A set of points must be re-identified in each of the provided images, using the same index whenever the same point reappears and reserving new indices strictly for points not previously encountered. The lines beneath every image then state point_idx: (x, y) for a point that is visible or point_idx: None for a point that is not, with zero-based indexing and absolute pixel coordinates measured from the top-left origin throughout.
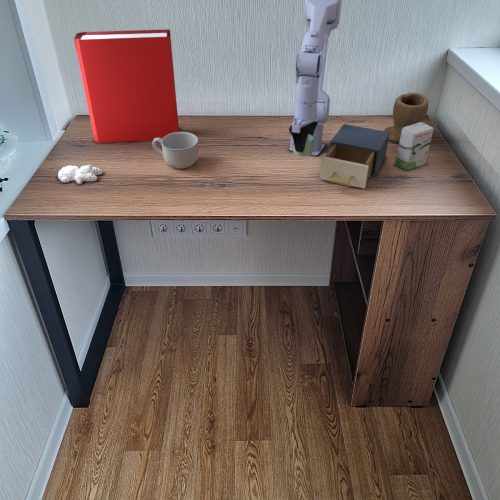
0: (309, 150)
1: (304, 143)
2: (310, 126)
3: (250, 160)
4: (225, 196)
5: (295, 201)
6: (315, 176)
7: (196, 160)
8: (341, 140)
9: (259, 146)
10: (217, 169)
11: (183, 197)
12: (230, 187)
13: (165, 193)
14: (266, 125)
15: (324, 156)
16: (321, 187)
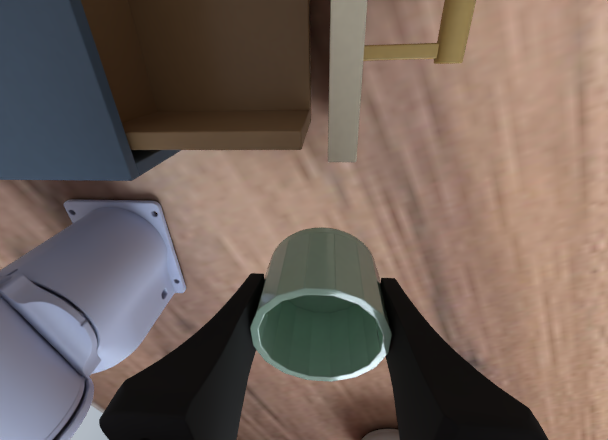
0: (357, 254)
1: (428, 324)
2: (227, 380)
3: None
4: (532, 346)
5: (546, 161)
6: (313, 155)
7: (388, 437)
8: (71, 114)
9: None
10: (387, 390)
11: (549, 407)
12: (476, 349)
13: None
14: None
15: (330, 152)
16: (398, 97)
